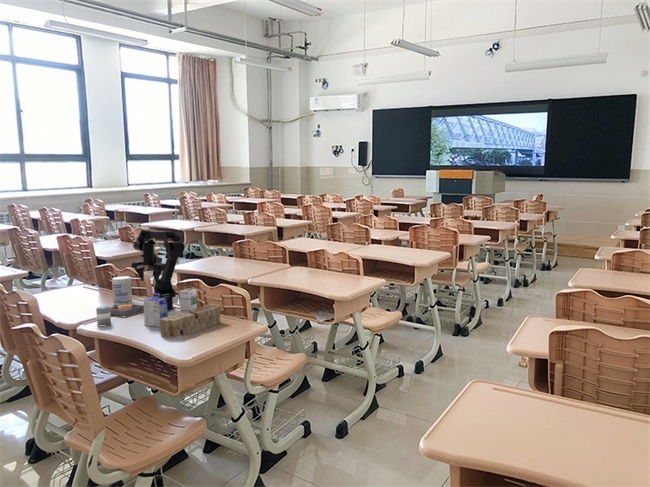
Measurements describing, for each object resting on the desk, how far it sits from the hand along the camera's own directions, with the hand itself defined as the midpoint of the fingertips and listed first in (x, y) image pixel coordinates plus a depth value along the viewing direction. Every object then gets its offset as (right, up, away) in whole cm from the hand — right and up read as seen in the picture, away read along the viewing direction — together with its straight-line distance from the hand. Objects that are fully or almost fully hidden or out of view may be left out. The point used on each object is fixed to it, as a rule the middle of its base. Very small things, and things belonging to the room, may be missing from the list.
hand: (149, 281), depth 262 cm
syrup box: (+29, -16, -28) cm, 43 cm away
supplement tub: (-17, -13, +7) cm, 23 cm away
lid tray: (-8, -15, -12) cm, 21 cm away
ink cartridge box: (+16, -17, -36) cm, 43 cm away
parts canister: (-9, -17, -33) cm, 39 cm away
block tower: (+35, -18, -43) cm, 58 cm away
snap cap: (-8, -14, -12) cm, 20 cm away
